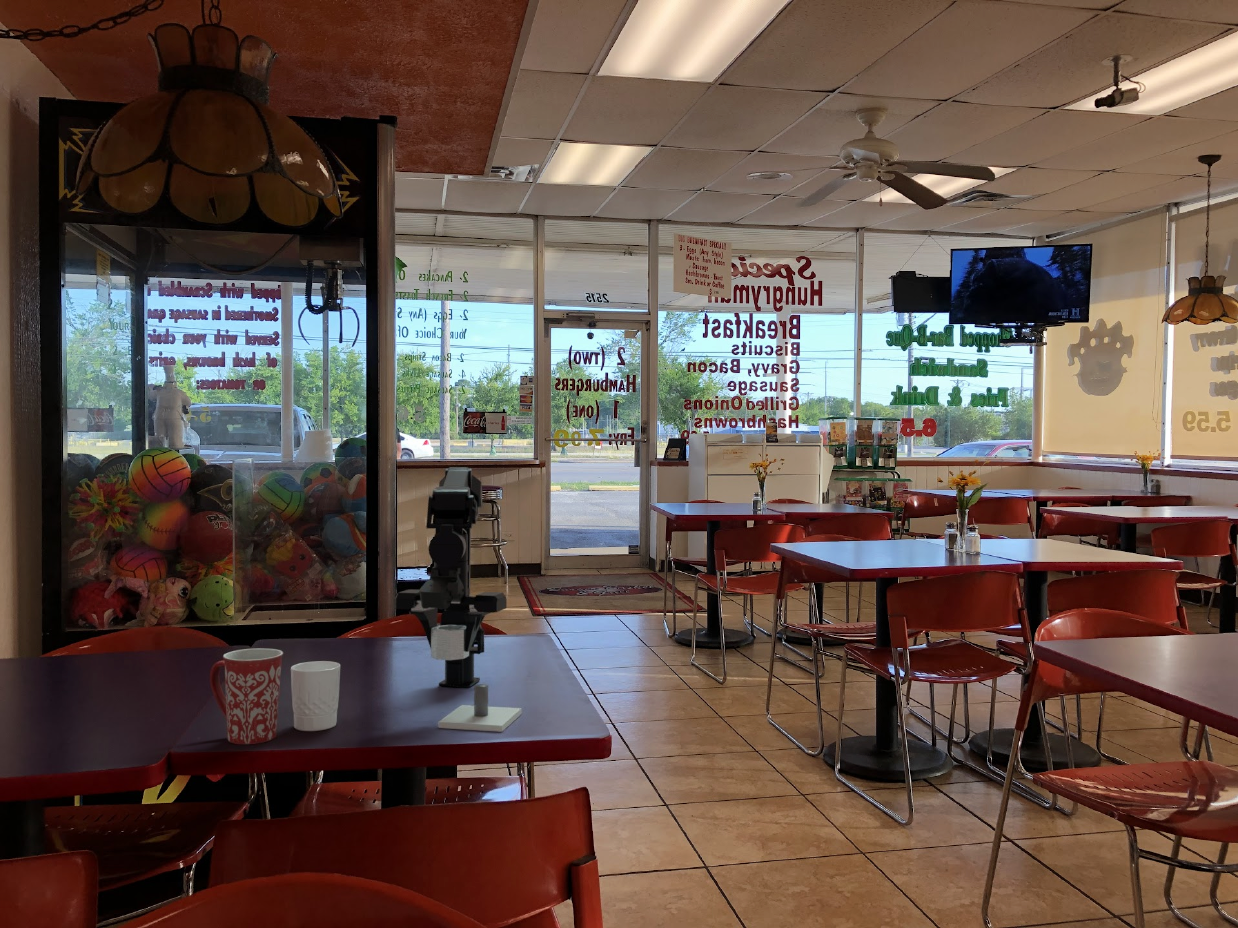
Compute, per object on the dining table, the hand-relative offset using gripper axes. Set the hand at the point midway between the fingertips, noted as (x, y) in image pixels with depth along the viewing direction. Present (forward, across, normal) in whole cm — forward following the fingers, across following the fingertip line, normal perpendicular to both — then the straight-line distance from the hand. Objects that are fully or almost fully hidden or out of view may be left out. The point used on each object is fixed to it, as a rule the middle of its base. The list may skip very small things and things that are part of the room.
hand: (450, 650), depth 164 cm
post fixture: (+11, +6, -2) cm, 13 cm away
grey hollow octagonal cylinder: (+1, 0, 0) cm, 1 cm away
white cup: (+12, -19, -11) cm, 25 cm away
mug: (+12, -27, -19) cm, 35 cm away
